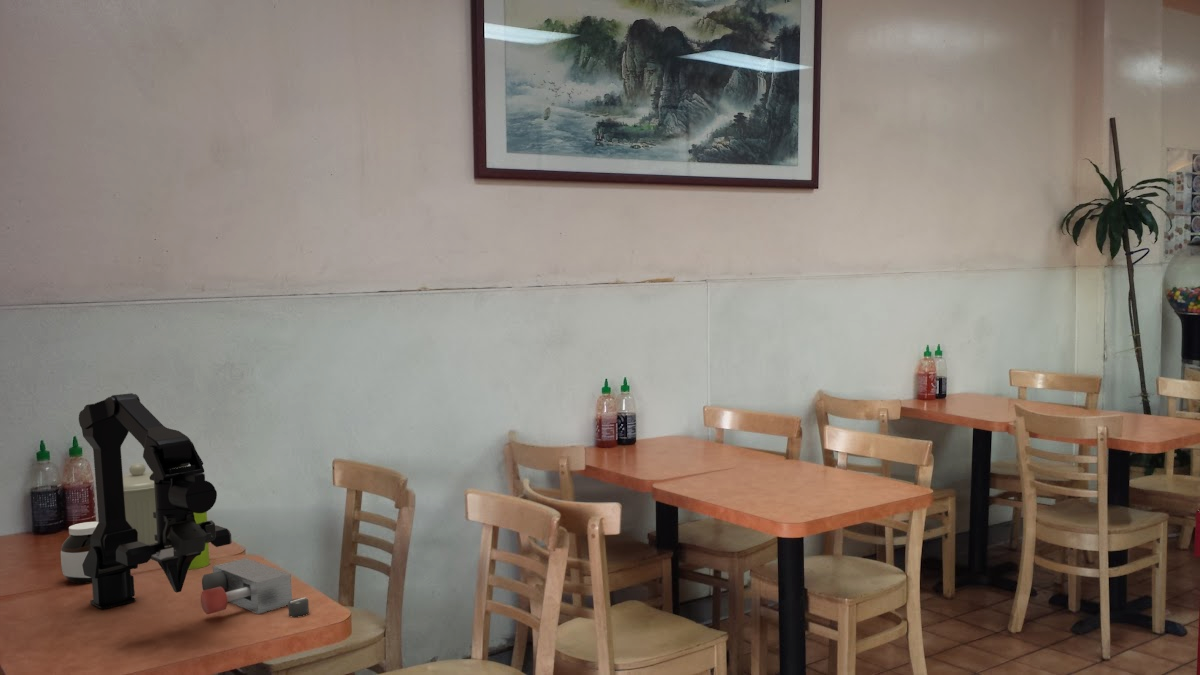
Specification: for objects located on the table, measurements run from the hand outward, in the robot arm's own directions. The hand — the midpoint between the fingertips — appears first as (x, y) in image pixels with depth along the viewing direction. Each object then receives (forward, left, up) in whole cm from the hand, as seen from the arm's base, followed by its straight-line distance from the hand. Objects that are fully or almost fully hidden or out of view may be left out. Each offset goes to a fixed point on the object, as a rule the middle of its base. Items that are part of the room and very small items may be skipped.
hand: (177, 591), depth 180 cm
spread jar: (+2, +50, -7) cm, 50 cm away
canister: (+18, +62, -7) cm, 65 cm away
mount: (+16, +5, -7) cm, 18 cm away
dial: (+18, -10, -7) cm, 22 cm away
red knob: (+11, 0, -5) cm, 12 cm away
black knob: (+16, +10, -5) cm, 19 cm away
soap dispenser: (+20, +39, -7) cm, 44 cm away
